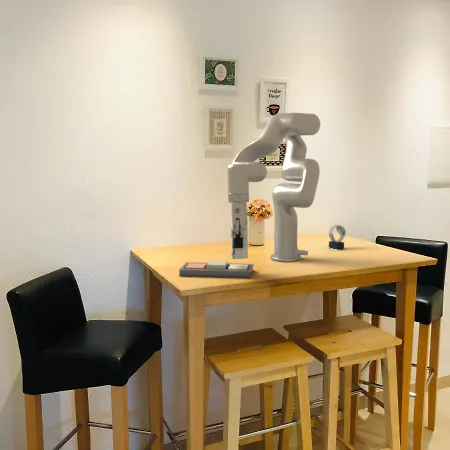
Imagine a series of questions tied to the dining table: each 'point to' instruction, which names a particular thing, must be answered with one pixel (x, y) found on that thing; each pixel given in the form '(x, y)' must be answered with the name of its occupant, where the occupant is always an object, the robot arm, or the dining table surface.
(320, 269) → the dining table surface
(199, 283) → the dining table surface
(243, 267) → the cream key
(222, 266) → the sage key
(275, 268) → the dining table surface
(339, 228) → the watch
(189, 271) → the keypad board
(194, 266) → the terracotta key
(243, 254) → the syrup box
